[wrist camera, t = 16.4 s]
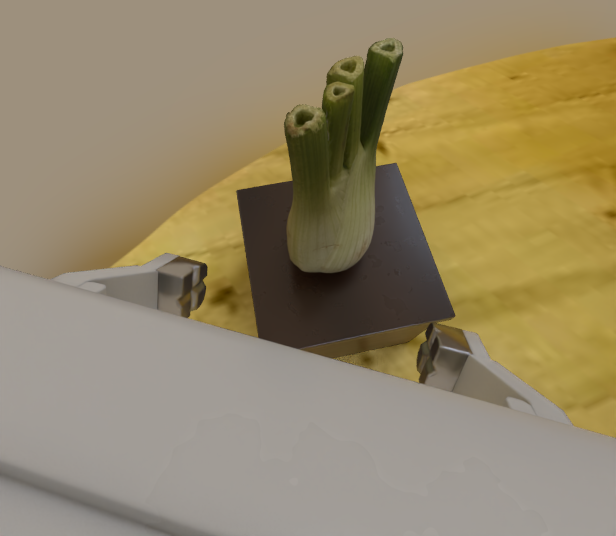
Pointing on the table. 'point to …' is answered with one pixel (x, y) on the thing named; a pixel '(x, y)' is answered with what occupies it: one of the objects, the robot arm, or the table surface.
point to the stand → (342, 277)
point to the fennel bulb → (339, 161)
